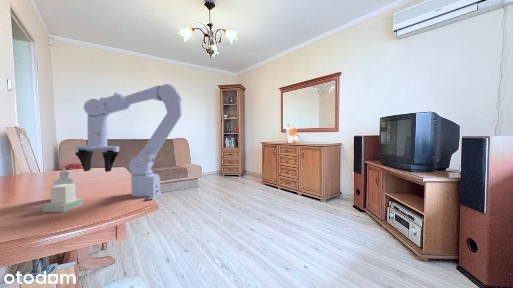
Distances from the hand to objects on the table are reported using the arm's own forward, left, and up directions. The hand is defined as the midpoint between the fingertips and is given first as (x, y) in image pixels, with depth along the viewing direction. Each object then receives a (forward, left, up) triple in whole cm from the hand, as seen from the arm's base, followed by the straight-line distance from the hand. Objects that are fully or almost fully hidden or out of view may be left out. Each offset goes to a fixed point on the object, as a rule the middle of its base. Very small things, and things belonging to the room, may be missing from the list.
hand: (97, 171), depth 77 cm
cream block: (+1, +13, -7) cm, 15 cm away
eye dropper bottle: (+10, +3, -11) cm, 15 cm away
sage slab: (+1, +13, -9) cm, 16 cm away
